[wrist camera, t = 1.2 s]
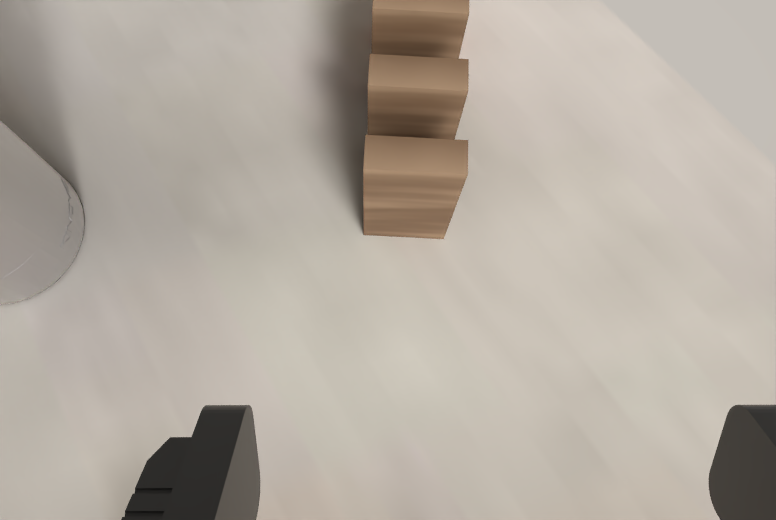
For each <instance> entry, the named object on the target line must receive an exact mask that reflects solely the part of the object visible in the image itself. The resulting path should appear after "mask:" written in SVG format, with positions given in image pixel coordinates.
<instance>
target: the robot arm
mask: <svg viewBox="0 0 776 520" xmlns="http://www.w3.org/2000/svg"><path fill="white" fill-rule="evenodd" d="M83 232H84V215H83V208H82V205H81V202H80V200H79V197H78V195H77V193H76V192H75V190H74V189H73V188H72V186H71V185H70V183H69V182H67V181H66V180H65V179H64V178H63V177H62V176H61V175H60V174H59V173H58V172H57V171H55V170H54V169H53V168H52V167H51V166H50V165H49V164H48V163H47V162H46V161H44V160H43V159H42V158H41V157H40V156H39V155H38V154H37V153H36V152H35V151H34V150H33V149H32V148H31V147H29V146H28V145H27V144H26V143H25V142H24V141H23V140H22V139H21V138H19V137H18V136H17V135H16V134H15V133H14V132H13V131H12V130H11V129H9V128H8V127H7V126H6V125H5V124H4V123H3V122H2V121H1V120H0V305H2V304H11V303H15V302H19V301H22V300H25V299H29V298H31V297H33V296H35V295H36V294H38V293H40V292H42V291H44V290H46V289H47V288H48V287H49V286H51V285H52V284H53V283H55V282H56V281H57V280H58V279H59V278H60V277H61V276H62V275H63V274H64V273H65V271H66V270H67V269H68V268H69V267H70V265H71V263H72V262H73V260H74V258H75V257H76V255H77V253H78V251H79V248H80V245H81V242H82V239H83ZM709 491H710V496H711V500H712V504H713V506H714V509H715V511H716V513H717V515H718V516H719V518H720V520H776V405H735V406H733V407H732V408H731V409H730V410H729V412H728V415H727V417H726V421H725V424H724V427H723V430H722V434H721V437H720V440H719V443H718V447H717V450H716V453H715V456H714V459H713V463H712V466H711V469H710V473H709ZM259 497H260V470H259V461H258V453H257V444H256V436H255V427H254V419H253V412H252V408H251V406H250V405H206V406H204V407H203V409H202V411H201V413H200V416H199V419H198V421H197V424H196V427H195V430H194V432H193V435H192V437H170V438H169V439H168V440H167V441H166V442H165V443H164V444H163V445H162V446H161V447H160V448H159V449H158V450H157V451H156V452H155V453H154V454H153V456H152V457H151V458H150V459H149V460H148V461H147V462H146V465H145V467H144V469H143V472H142V474H141V476H140V478H139V481H138V483H137V485H136V488H135V494H132V497H131V499H130V501H129V504H128V506H127V508H126V510H125V517H122V520H256V517H257V512H258V506H259Z"/></svg>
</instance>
